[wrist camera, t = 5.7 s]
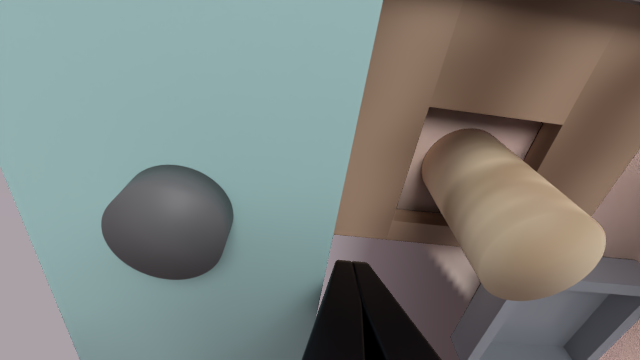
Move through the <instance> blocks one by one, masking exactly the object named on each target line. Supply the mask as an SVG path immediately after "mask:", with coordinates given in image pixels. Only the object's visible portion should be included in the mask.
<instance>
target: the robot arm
mask: <svg viewBox="0 0 640 360" xmlns="http://www.w3.org/2000/svg"><path fill="white" fill-rule="evenodd" d="M302 360H441V358H440V357H439V356H438V354H437V353H436V352H435V351H434V349H433V348H432V347H431V345H430V344H429V343H428V341H427V340H426V339H425V337H424V336H423V335H422V333H421V332H420V331H419V330H418V329H417V327H416V326H415V324H414V323H413V322H412V320H411V319H410V318H409V316H408V315H407V314H406V313H405V311H404V310H403V309H402V307H401V306H400V305H399V303H398V302H397V301H396V299H395V298H394V297H393V295H392V294H391V293H390V292H389V290H388V289H387V288H386V286H385V285H384V284H383V283H382V281H381V280H380V278H379V277H378V276H377V275H376V273H375V272H374V271H373V270H372V268H371V267H370V266H369V264H368V263H365V262H356V261H353V262H351V261H345V260H337V261H336V262H335V265H334V268H333V271H332V274H331V277H330V279H329V282H328V285H327V288H326V291H325V294H324V296H323V299H322V302H321V305H320V308H319V311H318V314H317V317H316V319H315V322H314V325H313V328H312V331H311V334H310V337H309V340H308V342H307V345H306V348H305V351H304V354H303V357H302Z"/></svg>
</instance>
